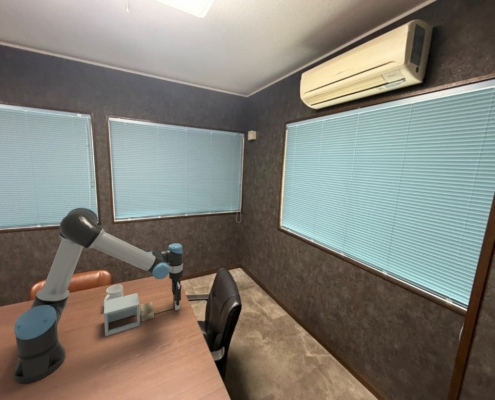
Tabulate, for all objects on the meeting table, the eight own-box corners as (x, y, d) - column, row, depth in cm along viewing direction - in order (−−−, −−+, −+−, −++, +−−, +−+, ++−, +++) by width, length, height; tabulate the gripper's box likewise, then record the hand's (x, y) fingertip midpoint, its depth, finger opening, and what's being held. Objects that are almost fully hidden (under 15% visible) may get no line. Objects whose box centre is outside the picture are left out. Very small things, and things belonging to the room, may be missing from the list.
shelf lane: (105, 336, 104) (103, 313, 102) (105, 321, 114) (104, 300, 112) (140, 325, 112) (139, 304, 110) (138, 312, 122) (137, 292, 120)
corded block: (141, 321, 115) (141, 307, 114) (140, 314, 120) (140, 301, 119) (180, 309, 126) (180, 297, 125) (178, 303, 131) (178, 291, 130)
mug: (110, 314, 119) (109, 297, 117) (97, 311, 121) (96, 294, 119) (126, 301, 131) (126, 286, 129) (115, 299, 132) (114, 283, 131)
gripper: (186, 275, 119) (186, 313, 123) (178, 263, 133) (179, 297, 136) (172, 278, 115) (173, 318, 119) (166, 265, 129) (166, 301, 132)
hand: (176, 307), depth 128 cm, fingers closed on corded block, 3 cm apart
